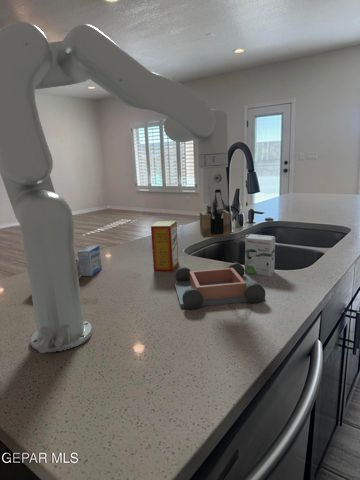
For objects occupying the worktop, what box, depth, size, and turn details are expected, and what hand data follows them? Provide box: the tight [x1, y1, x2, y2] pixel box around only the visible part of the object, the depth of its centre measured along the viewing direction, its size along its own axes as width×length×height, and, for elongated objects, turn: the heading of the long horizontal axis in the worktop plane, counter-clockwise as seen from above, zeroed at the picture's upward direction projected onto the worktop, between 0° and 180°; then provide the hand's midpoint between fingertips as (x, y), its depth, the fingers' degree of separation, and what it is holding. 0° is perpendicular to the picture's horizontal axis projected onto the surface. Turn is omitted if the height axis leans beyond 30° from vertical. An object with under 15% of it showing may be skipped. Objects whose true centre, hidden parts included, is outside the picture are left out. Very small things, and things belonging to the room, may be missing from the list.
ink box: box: [244, 233, 276, 277], centre depth 106 cm, size 9×5×12 cm, turn 61°
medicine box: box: [77, 245, 103, 277], centre depth 114 cm, size 8×4×9 cm, turn 168°
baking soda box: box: [150, 220, 180, 273], centre depth 115 cm, size 10×6×16 cm
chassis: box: [173, 262, 266, 310], centre depth 92 cm, size 19×22×5 cm
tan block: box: [199, 208, 231, 238], centre depth 88 cm, size 5×7×7 cm
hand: (214, 231), depth 89 cm, fingers closed on tan block, 5 cm apart
